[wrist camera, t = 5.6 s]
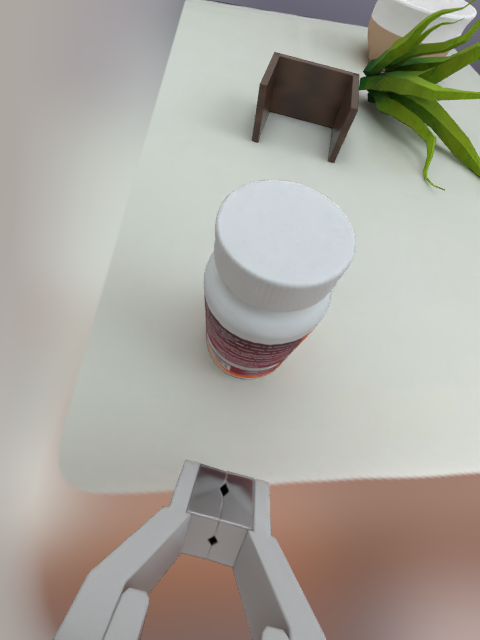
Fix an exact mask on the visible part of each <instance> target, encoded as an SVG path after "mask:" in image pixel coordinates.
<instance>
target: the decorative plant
mask: <svg viewBox="0 0 480 640" xmlns="http://www.w3.org/2000/svg"><path fill="white" fill-rule="evenodd" d="M474 1H475V0H473V1H472V2H474ZM472 2H470V3H469V4H467V5H466V6H464V7H462V8H452V9H443V10H440V11H437V12H435V13H432V14H431V15H429V16H428V17H426V18H425V19H424V20H422V21H421V22H420V23H419V24H418V25H417V26H415V27H414V28H413V29H412V30H411V31H410V32H409V33H408V34H406V35H405V36H404V37H402V38H399V39H397V40H396V41H395V42H394V43H393V45H392V46H391V47H390V48H389V49H387V50H386V51H385V52H384V53H383V54H382V55H380V56H379V57H378V58H377V59H372V60H370V62H369V63H368V65H367V66H366V68H365V69H364V71H363V72H364V74H365V75H366V77H362V78H360V85H359V90H367V91H368V92H369V93H368V102H372V103H376V106H377V109H378V110H379V111H380V112H382V113H385V114H388V115H391V116H392V117H394V118H395V119H397V120H399V121H400V122H402V123H404V124H405V125H407V126H409V127H410V128H412V129H413V130H414V131H415V132H416V133H417V134H418V135H419V136H421V137H422V138H423V139H424V140H425V141H426V142H427V159H426V162H425V166H424V170H423V171H424V178H425V179H426V180H427V181H428V182H429V183H430V184H431V185H433V184H432V183H431V182H430V180H429V179H428V178H427V169H428V167H429V164H430V162H431V159H432V157H433V153H434V147H435V142H436V138H435V136H434V135H433V134H432V132H431V131H430V130H429V129H428V127H427V126H426V125H428V126H429V127H431V128H432V130H433V131H434V132H435V133H436V134H437V135H438V137H439V138H440V139H441V140H442V141H443V143H444V144H445V145H446V146H447V147H448V148H449V150H450V151H451V152H452V153H453V154H454V155H455V156H456V157H457V158H458V159H459V160H460V161H461V162H463V163H464V164H465V165H466V166H467V167H468V168H470V169H471V170H472V171H473V172H474V173H475V174H476V175H478V176H479V177H480V158H479V156H478V154H477V152H476V151H475V149H474V147H473V145H472V143H471V142H470V140H469V138H468V137H467V136H466V135H465V133H464V132H463V131H462V130H461V129H460V127H459V126H458V125H457V124H456V123H455V121H454V120H453V119H452V118H451V117H450V115H449V114H448V113H447V112H446V111H445V110H444V109H443V107H442V106H441V105H440V104H439V103H438V102H437V101H436V100H460V99H480V92H470V91H461V90H455V89H449V88H443V87H440V86H438V85H436V83H438V82H440V81H442V80H443V79H445V78H447V77H448V76H450V75H452V74H453V73H455V72H457V71H458V70H460V69H462V68H463V67H465V66H467V65H468V64H470V63H472V62H475V61H477V60H479V59H480V42H478V43H476V44H474V45H472V46H470V47H468V48H466V49H464V50H462V51H460V52H458V53H456V54H454V55H452V56H450V57H422V58H416V57H419V56H423V55H430V54H439V53H445V52H447V51H449V50H451V49H453V48H455V47H457V46H459V45H462V44H463V43H465V42H466V41H468V39H469V38H470V37H471V36H472V34H473V33H474V32H475V31H476V30H477V29H478V27H479V26H480V19H479V20H478V21H477V22H476V23H475V25H474V26H473V27H472V28H471V29H470V30H469V31H468V32H467V33H466V34H464V35H461V36H459V37H456V38H453V39H450V40H448V41H445V42H439V43H427V44H420V43H421V42H422V41H423V40H424V39H425V38H426V37H427V36H428V35H429V34H430V33H431V32H432V31H433V30H435V29H437V28H438V27H440V26H441V25H447V24H453V23H456V22H458V21H460V20H462V19H460V20H458V21H456V22H442V23H440V24H437V25H435V26H433V27H431V28H430V29H428V30H426V31H425V32H423V31H424V30H425V29H426V27H427V26H428V25H429V24H430V23H431V22H432V21H434V20H435V19H437V18H438V17H440V16H441V15H444V14H448V13H452V12H455V11H459V10H462V9H464V8H465V7H467V6H468V5H470V4H471V3H472ZM463 19H464V18H463ZM422 32H423V33H422ZM419 44H420V45H419ZM412 58H413V59H412ZM383 69H385V73H381V71H382V70H383ZM424 123H425V124H426V125H425V124H424ZM433 186H435V185H433ZM435 187H437V186H435ZM437 188H439V189H442V188H440V187H437ZM442 190H445V189H442Z"/></svg>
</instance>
